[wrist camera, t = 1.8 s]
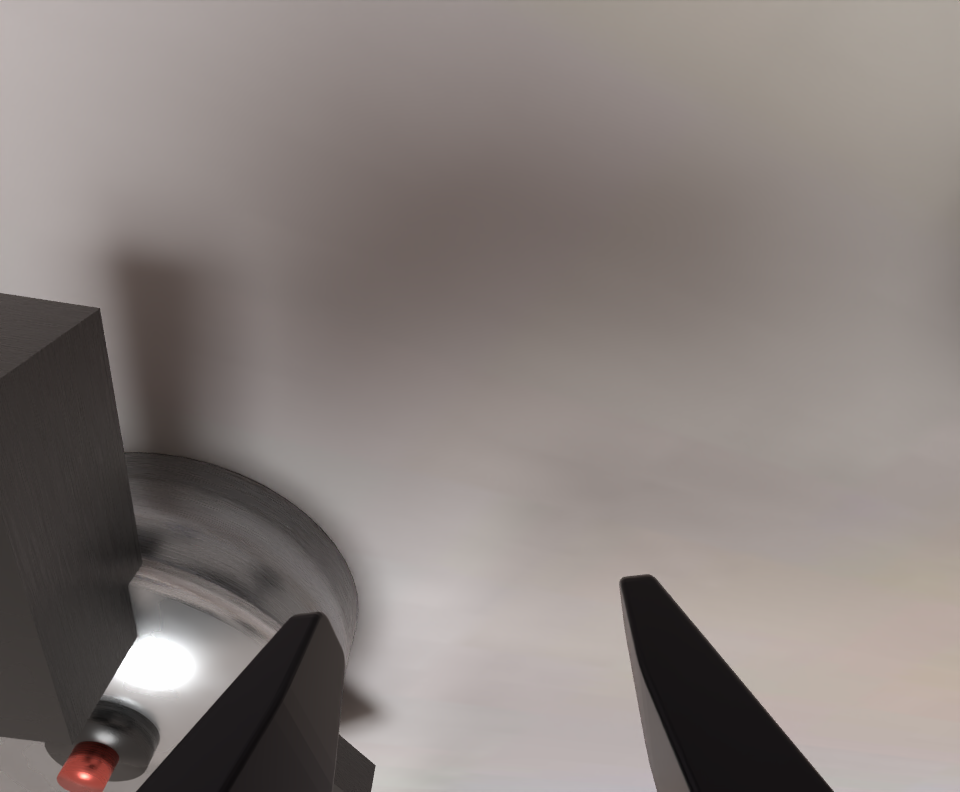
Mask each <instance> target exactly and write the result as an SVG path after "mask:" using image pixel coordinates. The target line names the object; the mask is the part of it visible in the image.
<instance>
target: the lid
mask: <svg viewBox="0 0 960 792" xmlns="http://www.w3.org/2000/svg"><path fill="white" fill-rule="evenodd" d="M281 627H282V626H281V625H280V624H278V623H277V622H276V621H275V620H273V619H272V618H271V617H269V616H268V615H266V614H265V613H263V612H262V611H261V610H259V609H258V608H256V607H255V606H254V605H252V604H251V603H249V602H247V601H245V600H244V599H242V598H240V597H238V596H237V595H235V594H233V593H231V592H230V591H228V590H226V589H224V588H222V587H220V586H218V585H216V584H214V583H211V582H209V581H207V580H205V579H203V578H201V577H198V576H196V575H194V574H192V573H189V572H186V571H183V570H181V569H178V568H175V567H172V566H169V565H167V564H164V563H161V562H158V561H154V560H150V559H147V558H143V557H142V556H141V550H140V544H139V538H138V533H137V527H136V521H135V515H134V509H133V503H132V497H131V491H130V485H129V479H128V473H127V467H126V461H125V455H124V449H123V443H122V437H121V432H120V426H119V420H118V414H117V408H116V402H115V396H114V390H113V384H112V378H111V372H110V366H109V360H108V354H107V348H106V342H105V336H104V330H103V325H102V319H101V313H100V308H94V307H88V306H81V305H75V304H68V303H61V302H55V301H48V300H42V299H35V298H29V297H22V296H16V295H9V294H3V293H0V792H136V791H137V790H138V789H139V787H140V786H141V785H142V784H143V783H144V782H145V781H146V780H147V778H148V777H149V776H150V775H151V774H152V773H153V772H154V771H155V769H156V768H157V767H158V766H159V765H160V764H161V763H162V761H163V760H164V759H165V758H166V757H167V756H168V755H169V754H170V752H171V751H172V750H173V749H174V748H175V747H176V746H177V745H178V743H179V742H180V741H181V740H182V739H183V738H184V737H185V735H186V734H187V733H188V732H189V731H190V730H191V729H192V728H193V726H194V725H195V724H196V723H197V722H198V721H199V720H200V719H201V717H202V716H203V715H204V714H205V713H206V712H207V711H208V709H209V708H210V707H211V706H212V705H213V704H214V703H215V702H216V700H217V699H218V698H219V697H220V696H221V695H222V694H223V693H224V691H225V690H226V689H227V688H228V687H229V686H230V685H231V683H232V682H233V681H234V680H235V679H236V678H237V677H238V676H239V674H240V673H241V672H242V671H243V670H244V669H245V668H246V667H247V665H248V664H249V663H250V662H251V661H252V660H253V659H254V658H255V656H256V655H257V654H258V653H259V652H260V651H261V650H262V648H263V647H264V646H265V645H266V644H267V643H268V642H269V641H270V639H271V638H272V637H273V636H274V635H275V634H276V633H277V632H278V630H279V629H280V628H281Z"/></svg>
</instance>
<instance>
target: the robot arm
mask: <svg viewBox="0 0 960 792" xmlns="http://www.w3.org/2000/svg"><path fill="white" fill-rule="evenodd" d="M619 586H620V595H621V603H622V611H623V619H624V627H625V633H626V639H627V645H628V650H629V656H630V661H631V667H632V672H633V678H634V683H635V689H636V694H637V700H638V705H639V711H640V717H641V722H642V728H643V733H644V739H645V744H646V749H647V753H648V758H649V763H650V767H651V770H652V774H653V778H654V782H655V785H656V789H657V792H834V791H833V790H832V789H831V788H830V786H829V785H828V784H827V783H826V782H825V780H824V779H823V778H822V777H821V776H820V774H819V773H818V772H817V771H816V770H815V768H814V767H813V766H812V765H811V764H810V762H809V761H808V760H807V759H806V758H805V756H804V755H803V754H802V753H801V752H800V750H799V749H798V748H797V747H796V746H795V744H794V743H793V742H792V741H791V740H790V738H789V737H788V736H787V735H786V734H785V732H784V731H783V730H782V729H781V728H780V726H779V725H778V724H777V723H776V722H775V720H774V719H773V718H772V717H771V716H770V714H769V713H768V712H767V711H766V710H765V708H764V707H763V706H762V705H761V704H760V702H759V701H758V700H757V699H756V698H755V697H754V695H753V694H752V693H751V692H750V691H749V689H748V688H747V687H746V686H745V685H744V683H743V682H742V681H741V680H740V679H739V677H738V676H737V675H736V674H735V673H734V671H733V670H732V669H731V668H730V667H729V665H728V664H727V663H726V662H725V661H724V659H723V658H722V657H721V656H720V655H719V653H718V652H717V651H716V650H715V649H714V647H713V646H712V645H711V644H710V643H709V641H708V640H707V639H706V638H705V637H704V635H703V634H702V633H701V632H700V631H699V629H698V628H697V627H696V626H695V625H694V623H693V622H692V621H691V620H690V619H689V617H688V616H687V615H686V614H685V613H684V611H683V610H682V609H681V608H680V607H679V606H678V604H677V603H676V602H675V601H674V600H673V598H672V597H671V596H670V595H669V594H668V592H667V591H666V590H665V589H664V588H663V586H662V585H661V584H660V583H659V582H658V580H657V579H656V578H655V577H653V576H652V575H649V574H645V575H637V576H628V577H623V578H622V579H621V580H620V582H619ZM344 675H345V656H344V652H343V649H342V647H341V645H340V642H339V640H338V638H337V636H336V634H335V632H334V630H333V627H332V625H331V623H330V621H329V619H328V617H327V616H326V615H325V614H324V613H323V612H319V611H318V612H309V613H300V614H296V615H293V616H292V617H291V618H289V619H288V620H287V621H286V622H285V624H284V625H283V626H282V627H281V628H280V629H279V630H278V632H277V633H276V634H275V635H274V636H273V637H272V638H271V639H270V641H269V642H268V643H267V644H266V645H265V646H264V647H263V648H262V650H261V651H260V652H259V653H258V654H257V655H256V656H255V658H254V659H253V660H252V661H251V662H250V663H249V664H248V665H247V667H246V668H245V669H244V670H243V671H242V672H241V673H240V674H239V676H238V677H237V678H236V679H235V680H234V681H233V682H232V683H231V685H230V686H229V687H228V688H227V689H226V690H225V691H224V693H223V694H222V695H221V696H220V697H219V698H218V699H217V700H216V702H215V703H214V704H213V705H212V706H211V707H210V708H209V709H208V711H207V712H206V713H205V714H204V715H203V716H202V717H201V719H200V720H199V721H198V722H197V723H196V724H195V725H194V726H193V728H192V729H191V730H190V731H189V732H188V733H187V734H186V735H185V737H184V738H183V739H182V740H181V741H180V742H179V743H178V745H177V746H176V747H175V748H174V749H173V750H172V751H171V752H170V754H169V755H168V756H167V757H166V758H165V759H164V760H163V761H162V763H161V764H160V765H159V766H158V767H157V768H156V769H155V771H154V772H153V773H152V774H151V775H150V776H149V777H148V778H147V780H146V781H145V782H144V783H143V784H142V785H141V786H140V787H139V789H138V790H137V791H136V792H332V790H333V783H334V775H335V766H336V756H337V746H338V736H339V725H340V715H341V705H342V695H343V685H344Z"/></svg>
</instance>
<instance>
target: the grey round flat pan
mask: <svg viewBox="0 0 960 792" xmlns="http://www.w3.org/2000/svg"><path fill="white" fill-rule="evenodd" d="M124 455H125V461H126V467H127V473H128V479H129V485H130V491H131V497H132V503H133V509H134V515H135V521H136V527H137V533H138V538H139V544H140V550H141V556H142V557H143V558H147V559H150V560H154V561H158V562H161V563H164V564H167V565H169V566H172V567H175V568H178V569H181V570H183V571H186V572H189V573H192V574H194V575H196V576H198V577H201V578H203V579H205V580H207V581H209V582H211V583H214V584H216V585H218V586H220V587H222V588H224V589H226V590H228V591H230V592H231V593H233V594H235V595H237V596H238V597H240V598H242V599H244V600H245V601H247V602H249V603H251V604H252V605H254V606H255V607H256V608H258V609H259V610H261V611H262V612H263V613H265V614H266V615H268V616H269V617H271V618H272V619H273V620H275V621H276V622H277V623H278V624H280V625H281V626H283V625H284V624H285V622H286V621H287V620H288V619H289V618H291V617H292V616H293V615H296V614H300V613H309V612H318V611H319V612H323V613H324V614H325V615H326V616H327V617H328V619H329V621H330V623H331V625H332V627H333V630H334V632H335V634H336V636H337V638H338V640H339V642H340V645H341V647H342V649H343V652H344V656H345V670H346V666H347V662H348V658H349V654H350V650H351V646H352V642H353V638H354V634H355V630H356V626H357V618H358V598H357V592H356V588H355V584H354V581H353V577H352V575H351V573H350V571H349V569H348V566H347V564H346V562H345V560H344V559H343V557H342V556H341V554H340V552H339V551H338V549H337V548H336V546H335V545H334V544H333V542H332V541H331V540H330V539H329V538H328V537H327V535H326V534H325V533H324V532H323V531H322V529H321V528H320V527H318V526H317V525H316V524H315V523H314V522H313V521H312V520H311V519H310V518H309V517H308V516H307V515H306V514H305V513H303V512H302V511H301V510H299V509H298V508H297V507H295V506H294V505H293V504H291V503H290V502H289V501H287V500H286V499H284V498H283V497H281V496H279V495H278V494H276V493H274V492H273V491H271V490H269V489H268V488H266V487H265V486H263V485H261V484H259V483H256V482H254V481H252V480H250V479H248V478H246V477H244V476H242V475H240V474H237V473H234V472H231V471H229V470H226V469H223V468H220V467H218V466H215V465H212V464H208V463H204V462H200V461H196V460H192V459H189V458H183V457H176V456H170V455H164V454H150V453H124ZM374 771H375V765H374V764H373V763H372V762H371V761H370V760H368V759H367V758H366V757H365V756H364V755H362V754H361V753H360V752H359V751H358V750H357V749H355V748H354V747H353V746H352V745H351V744H349V743H348V742H347V741H346V740H345V739H344V738H342V737H341V736H340V735H339V736H338V746H337V756H336V766H335V775H334V783H333V790H332V792H371V788H372V783H373V777H374Z"/></svg>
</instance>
